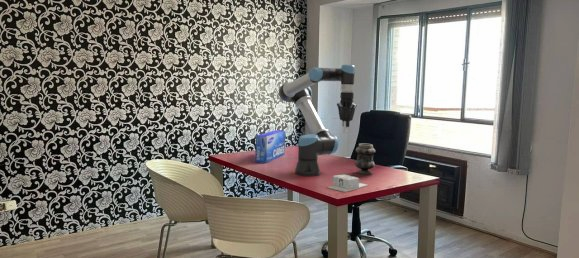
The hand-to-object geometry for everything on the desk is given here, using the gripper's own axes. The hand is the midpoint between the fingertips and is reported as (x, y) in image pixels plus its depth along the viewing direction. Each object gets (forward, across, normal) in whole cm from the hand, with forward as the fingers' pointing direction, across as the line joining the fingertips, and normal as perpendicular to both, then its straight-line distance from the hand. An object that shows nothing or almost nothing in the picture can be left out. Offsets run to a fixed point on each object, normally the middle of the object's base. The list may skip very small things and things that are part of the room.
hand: (345, 132), depth 255 cm
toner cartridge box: (+27, -71, +7) cm, 77 cm away
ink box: (+23, +10, -18) cm, 31 cm away
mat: (+26, +17, -18) cm, 36 cm away
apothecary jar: (+27, +2, +18) cm, 32 cm away
